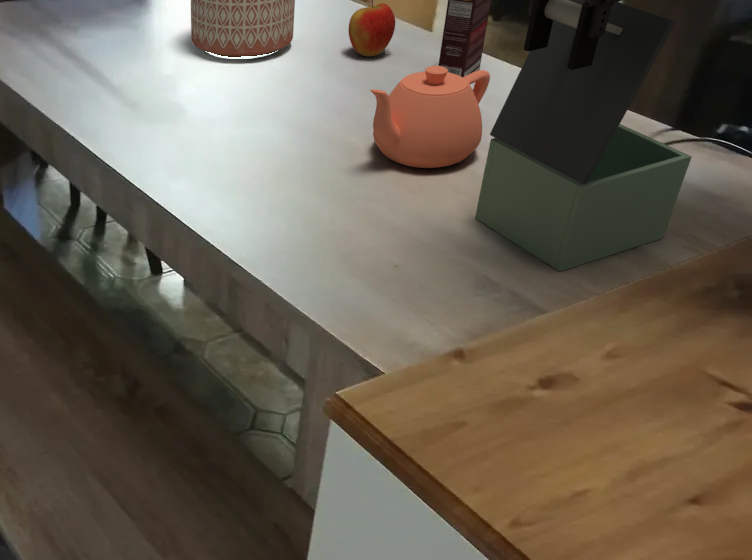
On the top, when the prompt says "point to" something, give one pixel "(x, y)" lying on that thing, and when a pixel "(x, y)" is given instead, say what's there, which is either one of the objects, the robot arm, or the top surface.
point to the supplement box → (464, 36)
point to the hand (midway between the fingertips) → (556, 56)
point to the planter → (242, 26)
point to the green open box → (583, 199)
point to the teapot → (430, 117)
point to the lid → (579, 88)
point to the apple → (371, 29)
